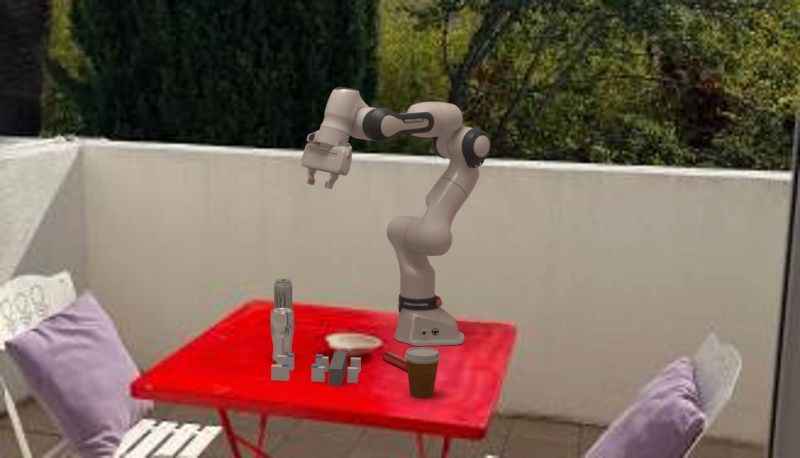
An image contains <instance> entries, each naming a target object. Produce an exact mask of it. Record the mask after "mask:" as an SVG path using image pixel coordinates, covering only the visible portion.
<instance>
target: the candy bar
mask: <svg viewBox="0 0 800 458" xmlns="http://www.w3.org/2000/svg"><path fill="white" fill-rule="evenodd" d="M381 357H382V358H383V360H384V361H387V362H388V363H390V364H393V365H395V366H397V367H399V368H401V369H403V370H404V371H407V372H408V370H407V360H406V358H405V357H404V356H401V355H399V354H397V353H394V352H392V351H391V352H390V351H384V352H383V353H382V355H381Z"/></svg>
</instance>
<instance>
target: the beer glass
mask: <svg viewBox="0 0 800 458" xmlns="http://www.w3.org/2000/svg"><path fill="white" fill-rule="evenodd" d="M294 313H295V311H294V309H293V308H292V309H290V308H275V309H274V308H273V309H271V310H270V332H271V339H272V344H273V352H272V357H271V359H272V361H273V362H276V363H277V355H287V354H288V353H289V354H293V352H292V344H293V339H294V338H293V337H294V333H295V314H294Z"/></svg>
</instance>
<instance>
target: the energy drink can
mask: <svg viewBox="0 0 800 458" xmlns="http://www.w3.org/2000/svg"><path fill="white" fill-rule="evenodd" d="M273 288H274V289H273V309H275V308H290V309H293V284H292V281H291V279H289V278H278V279H276V280H275V283H274V284H273Z"/></svg>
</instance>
